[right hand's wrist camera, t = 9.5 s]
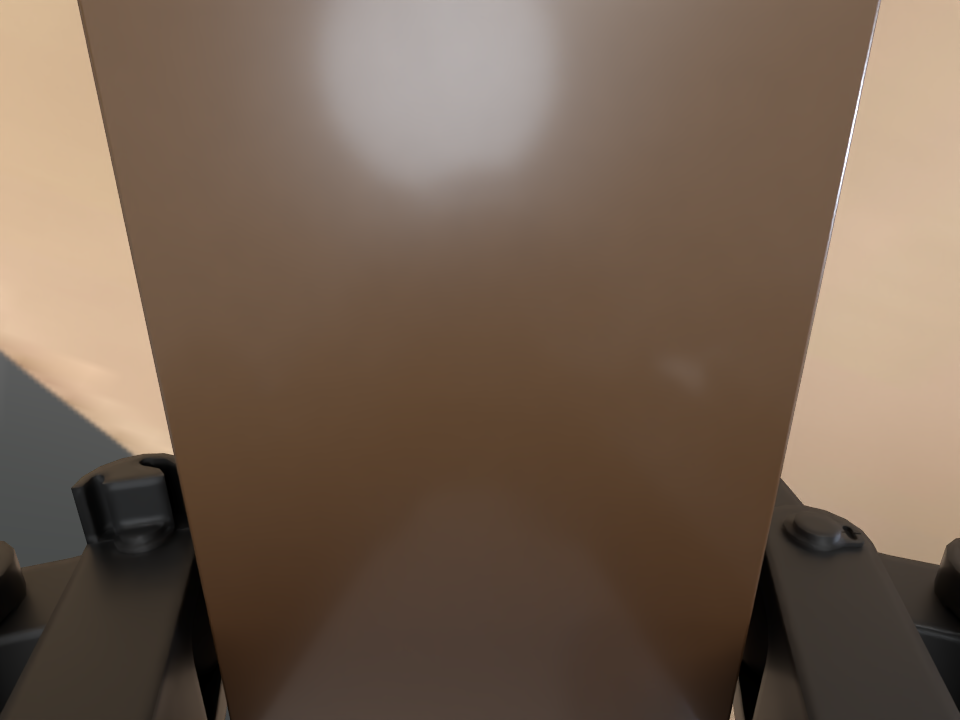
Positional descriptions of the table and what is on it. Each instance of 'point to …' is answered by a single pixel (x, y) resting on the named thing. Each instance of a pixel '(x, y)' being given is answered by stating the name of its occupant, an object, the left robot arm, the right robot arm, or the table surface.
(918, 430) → the table surface
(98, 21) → the bar
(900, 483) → the table surface
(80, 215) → the table surface
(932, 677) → the right robot arm
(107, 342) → the table surface
